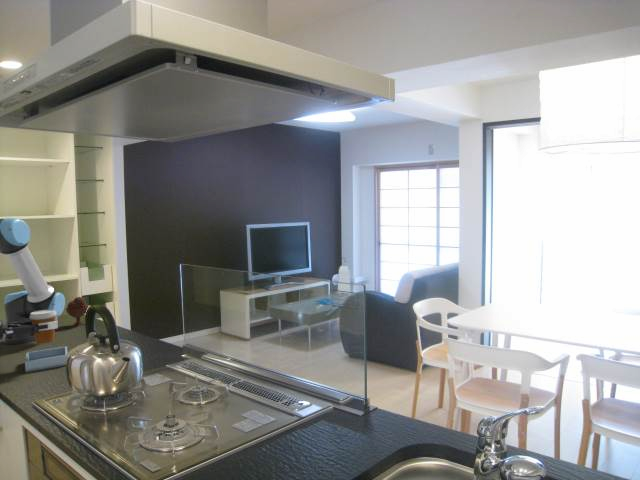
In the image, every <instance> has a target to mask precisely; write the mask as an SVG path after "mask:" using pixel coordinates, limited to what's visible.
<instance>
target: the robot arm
mask: <svg viewBox="0 0 640 480" xmlns="http://www.w3.org/2000/svg"><path fill="white" fill-rule="evenodd" d="M30 240H31V230H30V227H29V225H28V224H27V223H26V222H25V220H22V219H21V218H17V217H5V218H0V254H1V255H5V256H6V257H7V258H8V260H9V262H10V264H11V266H12V268H13V269H14V272H15V273H16V274H17V276H18V278H19V280H20V282H21V283H22V286H23V287H24V290H22V291H18V292H12V293H8V294H7V295H5V297H4V312H5V321H6V324H4V325H3V321H2V320H1V319H0V341H2V340H3V344H5V345H17V344H27V343H30V342H34V341H36V339H35V335H34V333H35V332H36V333H39V331H41V330H49V329H55V330H56V329H58V327H59V326H58V325H59V322H58V317H60V316H61V315H62V313H63V312H64V310H65V307H66V298H65V295H64V294H63V293H62V292H59V291H58V292H56V290H55V289H54V287H53V286H52V285H49V284H48V283H47V281H46V280H45V277H44V276H43V274H42V271H41V270H40V268H39V266H38V264H37V262H36V260H35V258H34V257H33V256H34V255H32V253H31V251H30V248H29V244H30ZM41 310H55V312H56V313H57V314H56V318H55V321H54V322H47V323H39V324H36V325H32V322H31V319H30V317H29V316H30V314H31V313H32V312H35V311H41ZM38 325H39V326H38Z"/></svg>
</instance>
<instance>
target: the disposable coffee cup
mask: <svg viewBox="0 0 640 480" xmlns="http://www.w3.org/2000/svg"><path fill="white" fill-rule="evenodd" d="M56 314H57V313H56V312H55V310H41V311H35V312H32V313H31V314H30V316H29V317H30V319H31V322H32V325H36V324H39V323H47V322H54V321H55V318H56ZM38 326H39V325H38ZM55 330H56V329H49V330H41V331H39V333H36V332H35V333H34V335H35V339H36V340H35V343H36V344H40V345H42V344H43V345H44V344H49V343H52V342H54V341H55V335H56V334H55Z"/></svg>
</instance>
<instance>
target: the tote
mask: <svg viewBox="0 0 640 480" xmlns="http://www.w3.org/2000/svg"><path fill="white" fill-rule="evenodd" d="M67 354H69V353H68V346H60V347H54V348H46V349H40V350H33V351H28V352H26V354H25V359H24V366H25V367H24V368H25V373H30V372H35V371H41V370H47V369H48V370H49V369H54V368H59V367H66V366H65V362H66V357H67Z"/></svg>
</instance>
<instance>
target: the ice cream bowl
mask: <svg viewBox="0 0 640 480" xmlns="http://www.w3.org/2000/svg"><path fill="white" fill-rule="evenodd" d="M88 307H89V308H90V306H89V305H88V304H87V303H86V300H85V298H84V297H82V296H76V297H75V298H74V299H72V300H70V301H69V303H67V306H66V308H65V311H66V313H67V314H68V315H69V316H71V317H72V318H75V319H76V322H75V323H73V324H72V326H73V325H74V326H73V327H80V326H79V325H82V326H84V325H85V323H84V322H82V321H81V317H83V316H85V315H86V314H87V313H86V310H87V308H88ZM85 313H86V314H85ZM83 324H84V325H83Z"/></svg>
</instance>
